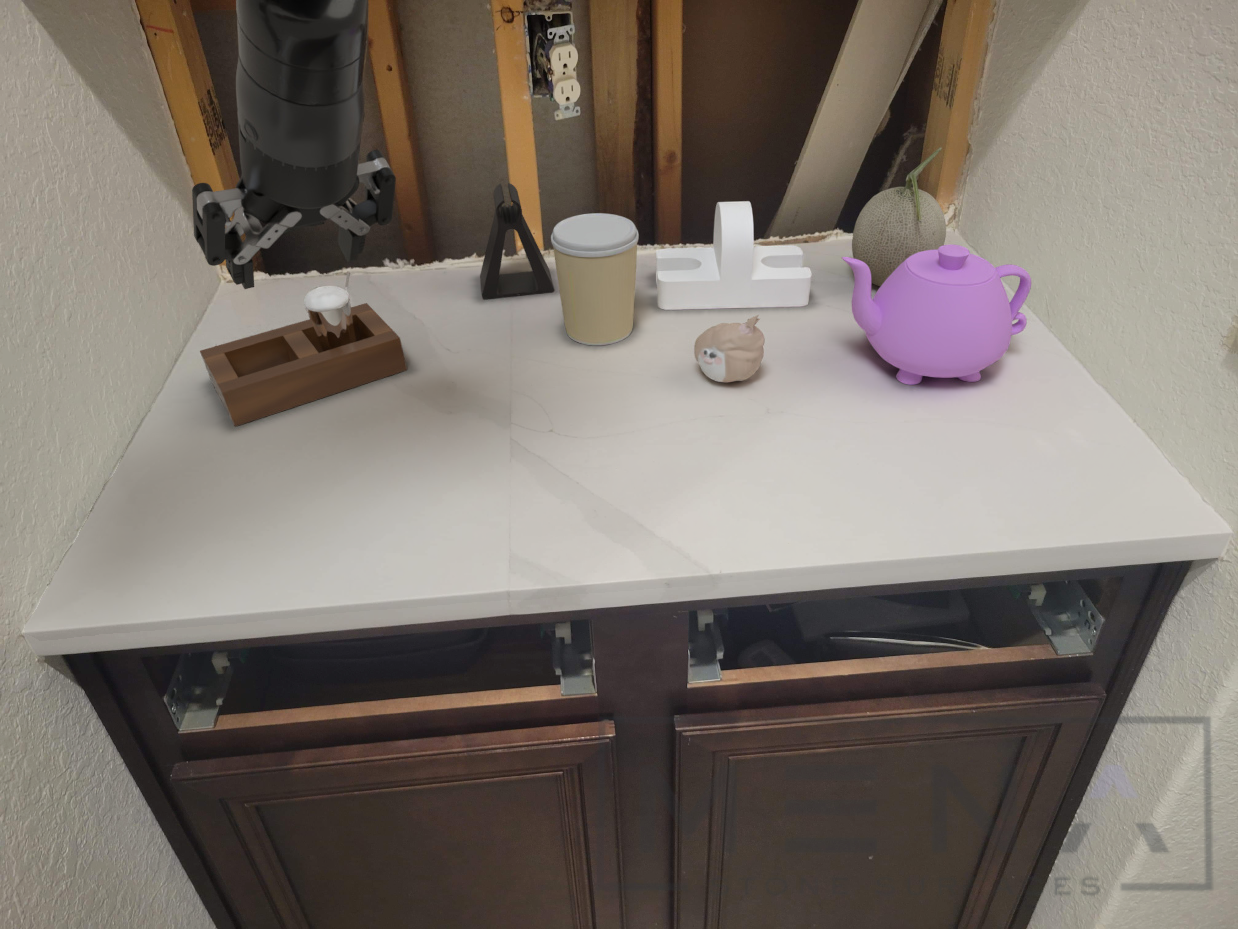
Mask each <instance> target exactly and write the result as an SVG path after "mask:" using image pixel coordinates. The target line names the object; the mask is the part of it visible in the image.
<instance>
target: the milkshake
mask: <svg viewBox="0 0 1238 929" xmlns="http://www.w3.org/2000/svg"><path fill="white" fill-rule="evenodd" d="M350 276H351V273H350V272H349V271H347V273H346V278H345V285H344V288H341V287H339V286H336V285H321V286H318V287H316V288H314V289H311V290H310V291H308V292H307V293H306V295H305V296H304V298H303V299H304V300H303V306H304V308H305V310H306V313H307V315H308V319H310V321H311V323H312V325H313V327H314V329H315V332H316V334H317V337H318V339H319V342H320V345H321V347H322V350H323V352H324V351H327V350H331V349H334V348H337V347H340V346H344V345H347V344H350V343H353V342H356V337H355V332H354V326H353V319H352V311H351V307H352V304H351V299H350V294H349V292H348V291H349V290H348V288H349V282H350Z"/></svg>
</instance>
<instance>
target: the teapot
mask: <svg viewBox="0 0 1238 929" xmlns="http://www.w3.org/2000/svg"><path fill="white" fill-rule="evenodd" d="M970 252H971V251H970V250H969V249H968V248H967V247H965V246H963V245H959V244H950V243H949V244H944V245H943V246H940V247H939V248H938V250H927V251H922V252H918V253H916V254H914V255H912V256H910V257H908V258H907V259H906V260H905V261H904V262H903V263H901V264H900V265H899V266H898V267H897V268H896V269H895V271H894V272H893V273H892V274H891V275H890V276H889V277H888V278H887V279H886V280H885V282H884V283H883V284H882V285H881V286H879V287H878V289H877V291H876V292H875V294H874V296H873V297H872V283H871V272H870V269H869V267H868V265H867V264H866V263H864V262H863V261H860V260H858V259H854V258H853V257H850V256H842V257H841V259H842V260H843V261H844V262H845V263H846V264H847V265H848V266H849V267H850V268H851V270H852V272H853V276H854V284H853V290H852V296H851V312H852V315H853V319H854V321H855V322H856V324H857V325H858V326H859V328H860V329H862V330H863V331H864V334H865V336H866V338H867V340H868V342H869V344H870V345H871V346H872V348H873V349H874V350H875V352H876V353H877V354H878V356H879V357H881V358H882V360H884V361H886V362H887V363H888V364H890V365H892V366H893V367H895V368H897V369H899V370H898V372H897V373H896V376H895V378H896V380H897V381H898V382H900V383H902V384H905V385H918V384H920V383H921V382H922V380H923V377H930V378H943V379H946V378H947V379H948V378H949V379H951V378H957V379H959V380H961V381H964V382H968V383H973V382H974V383H975V382H978V381H981V378H982V375H981V372H980V371H982V370H984V369H986V368H988V367H990V366H992V365H994V363H996V362H998V360H1000V359H1001V358H1003V356H1004V355H1005V354H1006V353H1007V351H1008V350H1009V347H1010V343H1011V340H1012V336H1014V335H1018V334H1020V333H1022V332H1023V331H1024V330H1025V329H1026V327H1027V323H1028V322H1027V320H1028V319H1027V316H1026V314H1024V313H1023V312H1020V310H1021V308H1022V307H1023V305H1024V303H1025V302H1026V300H1027V298H1028V296H1029V294H1030V291H1031V289H1032V278H1031V275H1030V273H1029V272H1028V271H1027V270H1026V269H1025V268H1023V267H1021V266H1019V265H1017V264H1012V263H1011V264H1009V263H1008V264H1002V265H998V266H994V265H993V264H992V263H991V262H989V261H988V260H987V259H986V258H983V257H981V256H979V255H976V254H974V253H970ZM1010 276H1015V277H1018V278H1019V284H1018V286H1017V289H1016V291H1015V293H1014V295H1013V296H1012V298H1011V300H1009V297H1008V294H1007V291H1006V289H1005V286H1004V284H1003V281H1002V278H1005V277H1010ZM1015 320H1017V321H1016V322H1015V323H1013V321H1015Z"/></svg>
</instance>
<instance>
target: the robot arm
mask: <svg viewBox="0 0 1238 929" xmlns="http://www.w3.org/2000/svg"><path fill="white" fill-rule="evenodd" d="M369 4H370V3H369V0H235V7H236V8H235V10H236V27H237V28H236V29H237V45H238V57H237V66H236V73H235V95H236V96H235V97H236V110H237V111H236V112H237V126H238V143H239V161H240V162H239V163H240V169H241V175H240V178H239V180H238V181H237V183H236V184H235V188H229V189H228V188H227V189H223V190H215V191H214V190H213V189H212V186H211V185H210V184H209V183H208V182H199V183H197V184H195V185H194V186H193V187H192V188H191V198H192V219H193V237H194V239H195V240H196V242H197V244H198V246H199V247H200V249H201V251H202V253H203V255H204V258H205V261H206V263H207V264H208V265H209V266H213V267H214V266H220V265H221V264H223V263H224V262H225V268H226V270H227V272H228V274H229V275H230V278H231V279H232V281H233V283H234V284H235V285H236V286H239V285H242V288H243V289H244V290H248V289H252V288H255V273H254V260H253V257H254V256H255V255H256V254H257V253H258V252H259V251H260V250H261V249H265V250H267V249H269V248H271V246H272V245H274V243H275V242H276V241H277V240H278V239H279V238H280V237H281V236H282V235H283V234H286V233H291V232H295V231H297V230H300V229H302V228H305V227H306V228H307V227H308V228H309V227H317V226H322V225H325V222H326V221H328V220H331V221H332V222H334V223H335V224H336V225H338V226H339V227H338V237H337V243H338V246H339V249H340V251H341V252H342V254H343V256H344V258H345V260H346V261H347V263H352V262H357V261H358V259H359V255H360V254H362V253H363V251H364V250H365V244H366V237H367V234H368V233H370V231H371V227H372V226H374V225H375V224H378V225H379V226H386V225H388V224H390V223H391V222H392V221H393V214H394V205H395V204H394V202H395V191H396V183H397V182H396V181H397V178H396V175H395V173H394V171H393V170H392V168H391V166H390V165H389V163H388V161H387V160H386V158H385V156H384V154H383V153H382V150H380V149H373V150H371V151H369V152H368V153H367V155H366V158H365V161H366V162H362V163H359V159H360V153H361V152H360V151H361V145H362V144H361V142H362V134H363V124H364V120H365V117H366V116H365V115H366V114H365V107H366V106H365V104H366V95H365V82H364V80H365V71H366V70H365V69H366V61H367V51H368V43H369V26H370V24H369V23H370V21H369V20H370V18H369V15H370V14H369V13H370V12H369V8H370V7H369ZM360 184H363V185H364V201H362V202H360V203H358V202H356V201H355V200H353V199H352V198H351V197H353V195H354V194H355V193H356V192H357V191H358V189H359V188H360ZM233 214H234V216H233ZM261 222H262V223H263V224H264V226H262V224H261ZM243 235H245V238H244V240H242V236H243Z"/></svg>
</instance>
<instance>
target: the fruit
mask: <svg viewBox="0 0 1238 929" xmlns="http://www.w3.org/2000/svg"><path fill="white" fill-rule="evenodd" d="M941 151H942V146H939V147H938V148H937V149H936V150H935V151H934V152H933V153H932V154H931V155H929V156H928V157H926V159H925V160H923V161H922V162H921V163H920V164H918V165H917V167H916V168H914V169H912V170H911V172H909V173H908V174H907V176H906V178H905V182H906V183H905V186H895V187H890V188H888V189H884V190H882V191H880V192H878V193H877V194H875V195H874V196H872V197H871V198H870V200H868V201H867V202H866V204H865V205H864V206H863V207H862V209H861V211H860V212H859V215H858V217H857V219H856V221H855V224H854V228H853V231H852V239H851V253H852V258H854V259H858V260H860V261H863V262H864V263H866V264H867V265H868V267H869V269H870V272H871V284H873V285H875V286H878V287H881V285H882V284H883V283H884V282H885V280H886V279H887V278H888V277H889V276H890V275H891V274H892V273H893V272H894V271H895V269H896V268H897V267H898V266H899V265H900V264H901V263H903V262H904V261H905V260H906V259H907V258H908V257H910V256H912V255H914V254H916V253H918V252H922V251H927V250H938V248H939V247H940V246H943V245H945V241H946V237H947V223H946V218H945V214H944V211H943V208H942V207H941V205H940V203H939V202H938V201H937V199H936V198H935V197H934V196H933V195H932V194H930V193H928V192H927V191H925V190H923V189H920V188H919V187H918V181H917V177H918V175H919V174H920V173H921V172H922V171H923V170H924V169H925V168H926V167H927V166H928V164H930V162H932V161H933V160H934V158H935V157H936V156H937V155H938V154H939V153H940V152H941Z"/></svg>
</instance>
